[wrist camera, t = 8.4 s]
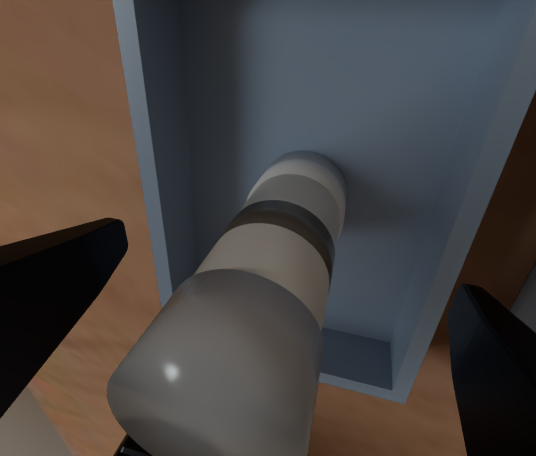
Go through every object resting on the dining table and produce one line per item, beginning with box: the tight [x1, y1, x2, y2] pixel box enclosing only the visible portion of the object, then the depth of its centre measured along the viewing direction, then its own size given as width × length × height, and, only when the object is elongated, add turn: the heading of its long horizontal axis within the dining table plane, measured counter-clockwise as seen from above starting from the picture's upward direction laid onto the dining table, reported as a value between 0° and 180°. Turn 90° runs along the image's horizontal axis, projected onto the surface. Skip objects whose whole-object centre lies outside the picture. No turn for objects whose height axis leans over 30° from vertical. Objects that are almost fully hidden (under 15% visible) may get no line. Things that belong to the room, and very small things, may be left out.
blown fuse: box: [107, 150, 348, 456], centre depth 9 cm, size 3×3×9 cm
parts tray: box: [113, 0, 536, 404], centre depth 12 cm, size 14×10×3 cm
